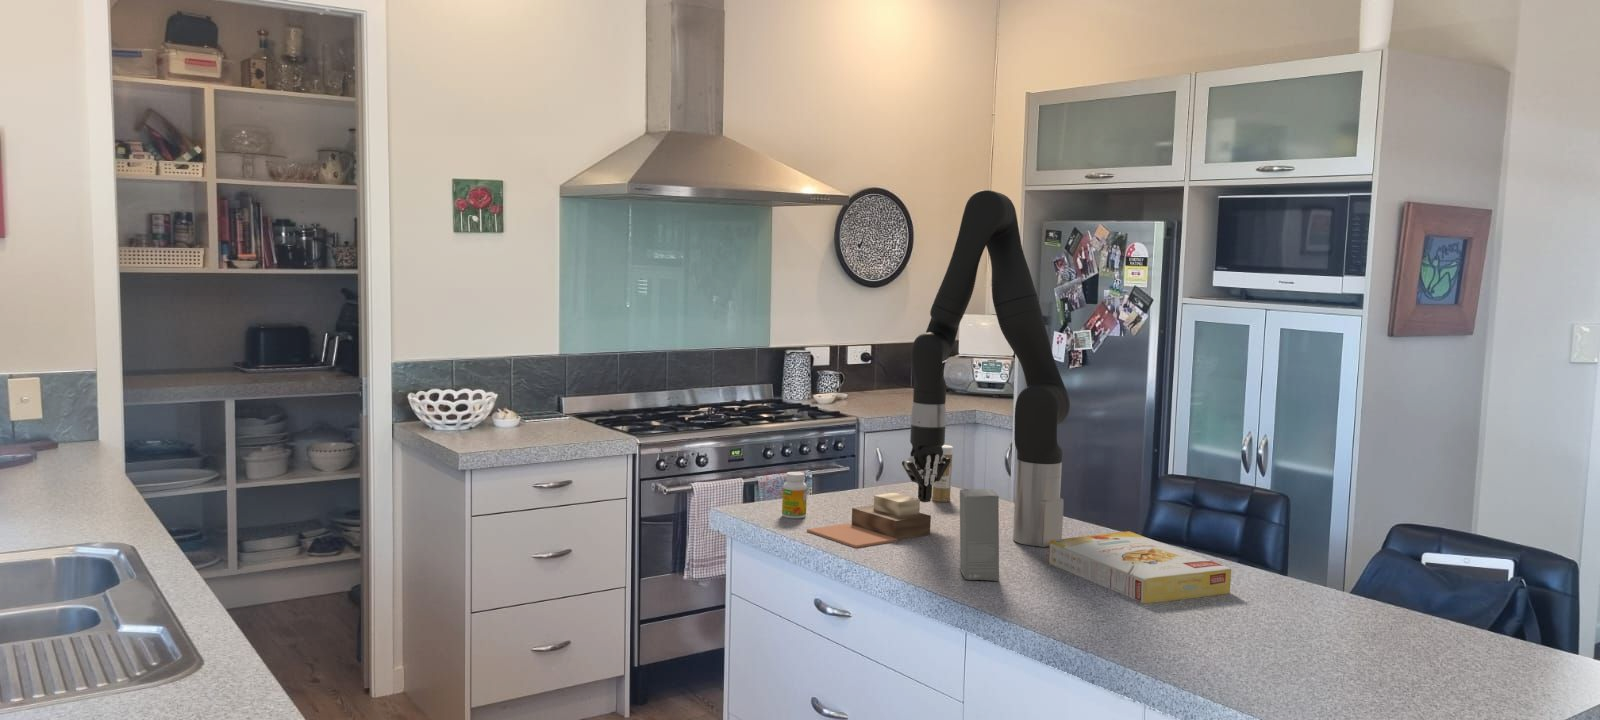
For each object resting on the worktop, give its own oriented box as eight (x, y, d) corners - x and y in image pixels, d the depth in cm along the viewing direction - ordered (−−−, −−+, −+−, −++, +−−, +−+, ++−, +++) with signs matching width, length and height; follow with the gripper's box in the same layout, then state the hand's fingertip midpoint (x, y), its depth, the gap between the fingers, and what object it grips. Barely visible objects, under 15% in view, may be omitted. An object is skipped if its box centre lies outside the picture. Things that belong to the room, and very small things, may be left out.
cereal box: (1129, 529, 238) (1234, 564, 213) (1127, 556, 238) (1233, 594, 213) (1047, 538, 229) (1147, 576, 204) (1046, 566, 230) (1145, 607, 205)
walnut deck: (930, 534, 251) (930, 515, 250) (895, 539, 244) (896, 520, 244) (885, 521, 262) (886, 503, 261) (851, 526, 255) (852, 508, 255)
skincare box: (999, 582, 215) (1003, 496, 214) (960, 580, 215) (964, 495, 214) (993, 569, 224) (997, 487, 222) (955, 568, 224) (959, 486, 222)
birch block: (919, 513, 252) (920, 499, 252) (898, 516, 249) (899, 502, 248) (894, 506, 259) (894, 492, 258) (873, 509, 255) (874, 495, 255)
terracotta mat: (896, 541, 243) (896, 538, 243) (856, 547, 237) (856, 545, 237) (846, 525, 256) (846, 523, 256) (806, 531, 249) (807, 529, 249)
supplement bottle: (778, 517, 262) (780, 474, 261) (786, 512, 267) (787, 470, 266) (801, 519, 260) (803, 476, 259) (808, 515, 265) (810, 472, 264)
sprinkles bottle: (929, 501, 285) (932, 446, 283) (934, 497, 289) (936, 443, 288) (948, 503, 283) (951, 447, 282) (952, 499, 287) (955, 445, 286)
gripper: (917, 427, 250) (914, 508, 252) (962, 423, 258) (958, 501, 260) (894, 422, 256) (890, 501, 258) (938, 419, 264) (934, 495, 266)
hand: (924, 501), depth 259 cm, fingers closed
